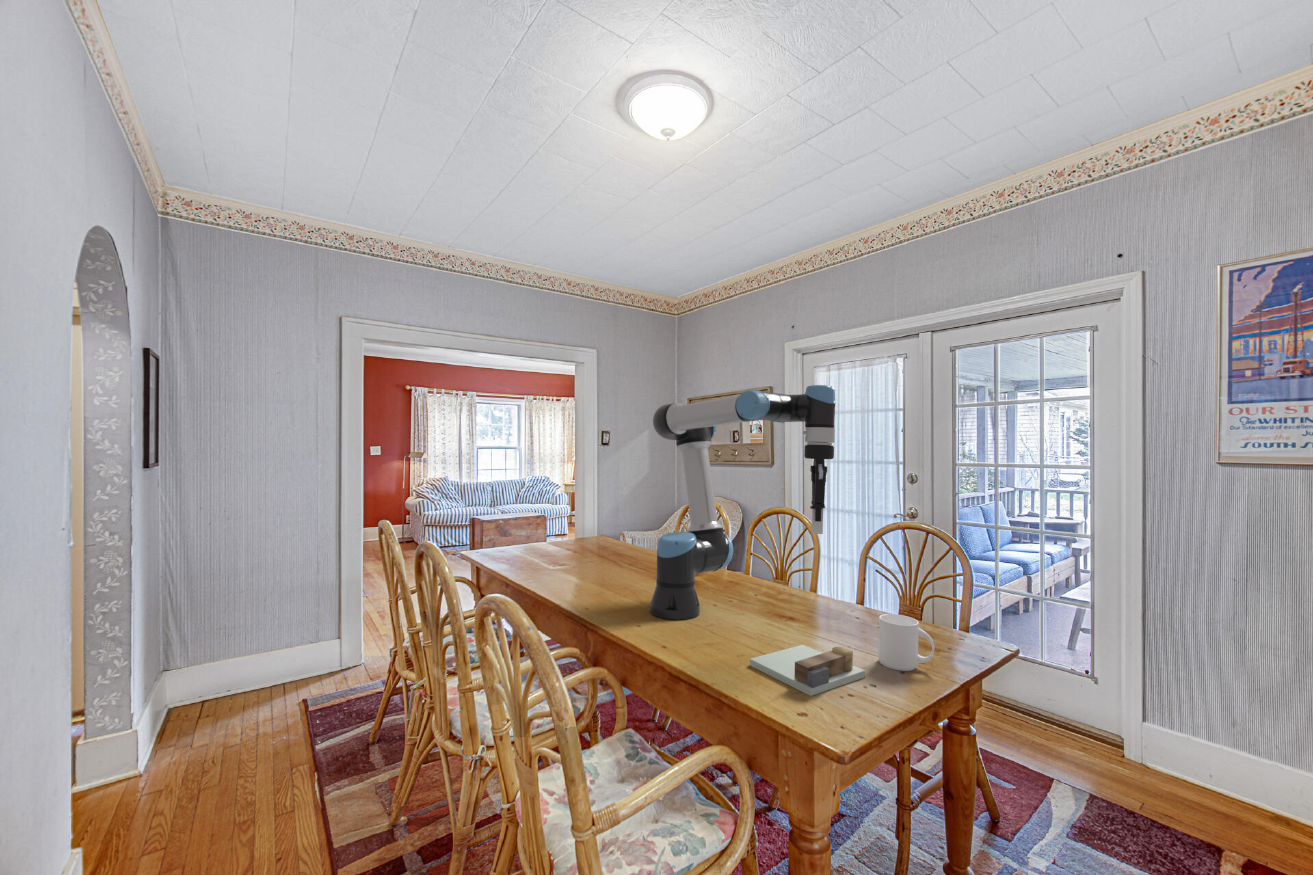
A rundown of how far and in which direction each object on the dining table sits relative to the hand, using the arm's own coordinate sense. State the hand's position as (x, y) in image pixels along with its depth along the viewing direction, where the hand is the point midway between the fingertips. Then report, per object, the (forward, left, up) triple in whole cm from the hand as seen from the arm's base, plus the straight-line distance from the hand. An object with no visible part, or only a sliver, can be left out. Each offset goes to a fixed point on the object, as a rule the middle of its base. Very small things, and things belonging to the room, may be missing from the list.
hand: (817, 533), depth 145 cm
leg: (+18, -17, -27) cm, 36 cm away
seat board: (+12, -17, -28) cm, 35 cm away
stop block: (+20, -23, -27) cm, 41 cm away
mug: (+22, +6, -29) cm, 37 cm away
